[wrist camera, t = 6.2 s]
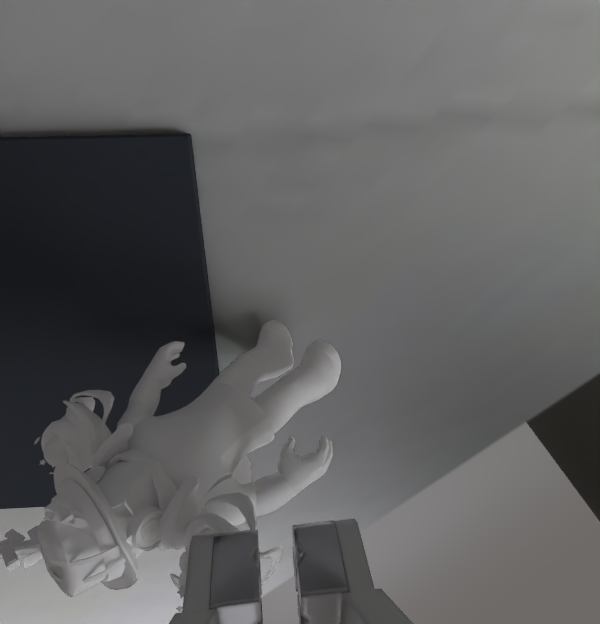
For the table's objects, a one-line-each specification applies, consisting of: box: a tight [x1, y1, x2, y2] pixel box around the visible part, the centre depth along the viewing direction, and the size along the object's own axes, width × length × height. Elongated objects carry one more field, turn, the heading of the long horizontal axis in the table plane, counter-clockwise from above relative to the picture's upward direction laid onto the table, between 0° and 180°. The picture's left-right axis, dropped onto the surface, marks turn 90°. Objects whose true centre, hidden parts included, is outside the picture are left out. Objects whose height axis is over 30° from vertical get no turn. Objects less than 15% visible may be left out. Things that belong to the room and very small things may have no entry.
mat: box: [0, 134, 219, 509], centre depth 19 cm, size 16×18×1 cm
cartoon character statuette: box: [0, 321, 341, 612], centre depth 15 cm, size 9×4×12 cm
